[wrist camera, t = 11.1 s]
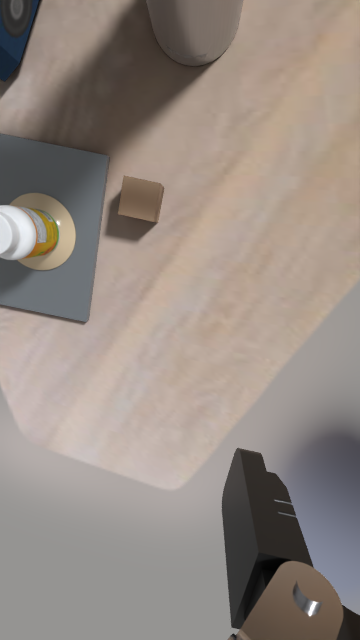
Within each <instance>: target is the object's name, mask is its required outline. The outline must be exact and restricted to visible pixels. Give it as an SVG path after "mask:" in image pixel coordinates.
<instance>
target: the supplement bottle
mask: <svg viewBox="0 0 360 640" xmlns="http://www.w3.org/2000/svg"><path fill="white" fill-rule="evenodd" d="M59 240H60V229H59V226H58V224H57V222H56V220H55V219H54V218H53V217H52V216H51V215H50V214H49V213H47V212H45V211H43V210H40V209H34V208H27V207H19V206H11V205H1V206H0V258H3V259H7V260H18V259H25V258H31V257H37V256H43V255H47V254H49V253H51V252H52V251H54V250H55V248H56V247H57V246H58V243H59Z"/></svg>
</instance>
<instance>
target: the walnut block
mask: <svg viewBox="0 0 360 640" xmlns="http://www.w3.org/2000/svg"><path fill="white" fill-rule="evenodd" d="M163 192H164V187H163V186H162V185H161V184H160V183H156V182H152V181H147V180H142V179H138V178H133V177H128V176H124V177H123V183H122V190H121V197H120V203H119V210H118V214H120V215H124V216H129V217H134V218H138V219H143V220H147V221H152V222H157V223H158V220H159V214H160V209H161V203H162V198H163Z"/></svg>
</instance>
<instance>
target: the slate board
mask: <svg viewBox="0 0 360 640" xmlns="http://www.w3.org/2000/svg"><path fill="white" fill-rule="evenodd" d="M109 158H110V157H109V156H107V155H103V154H98V153H93V152H88V151H83V150H78V149H73V148H69V147H64V146H59V145H54V144H49V143H44V142H39V141H34V140H30V139H25V138H20V137H15V136H10V135H5V134H0V206H1V205H11V206H19V207H27V208H34V209H40V210H43V211H45V212H47V213H49V214H50V215H51V216H52V217H53V218H54V219H55V220H56V222H57V224H58V226H59V229H60V240H59V243H58V246H57V247H56V248H55V250H54V251H52V252H51V253H49V254H47V255H43V256H37V257H31V258H25V259H18V260H7V259H3V258H0V304H1V305H6V306H11V307H16V308H21V309H26V310H30V311H35V312H40V313H45V314H50V315H55V316H59V317H64V318H69V319H74V320H79V321H84V322H87V321H88V320H89V315H90V307H91V299H92V291H93V284H94V276H95V268H96V260H97V252H98V244H99V236H100V229H101V221H102V213H103V205H104V197H105V189H106V181H107V174H108V166H109Z"/></svg>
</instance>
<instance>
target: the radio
mask: <svg viewBox="0 0 360 640" xmlns="http://www.w3.org/2000/svg"><path fill="white" fill-rule="evenodd" d="M38 2H39V0H0V79H1V80H3V81H6V79H7V78H8V77H9V76H10V75H11V73H12V72H13V71H14V70H15V68H16V67H17V66H18V65H19V63H20V60H21V57H22V54H23V51H24V47H25V44H26V41H27V38H28V34H29V31H30V28H31V25H32V21H33V18H34V15H35V12H36V8H37V5H38Z"/></svg>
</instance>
